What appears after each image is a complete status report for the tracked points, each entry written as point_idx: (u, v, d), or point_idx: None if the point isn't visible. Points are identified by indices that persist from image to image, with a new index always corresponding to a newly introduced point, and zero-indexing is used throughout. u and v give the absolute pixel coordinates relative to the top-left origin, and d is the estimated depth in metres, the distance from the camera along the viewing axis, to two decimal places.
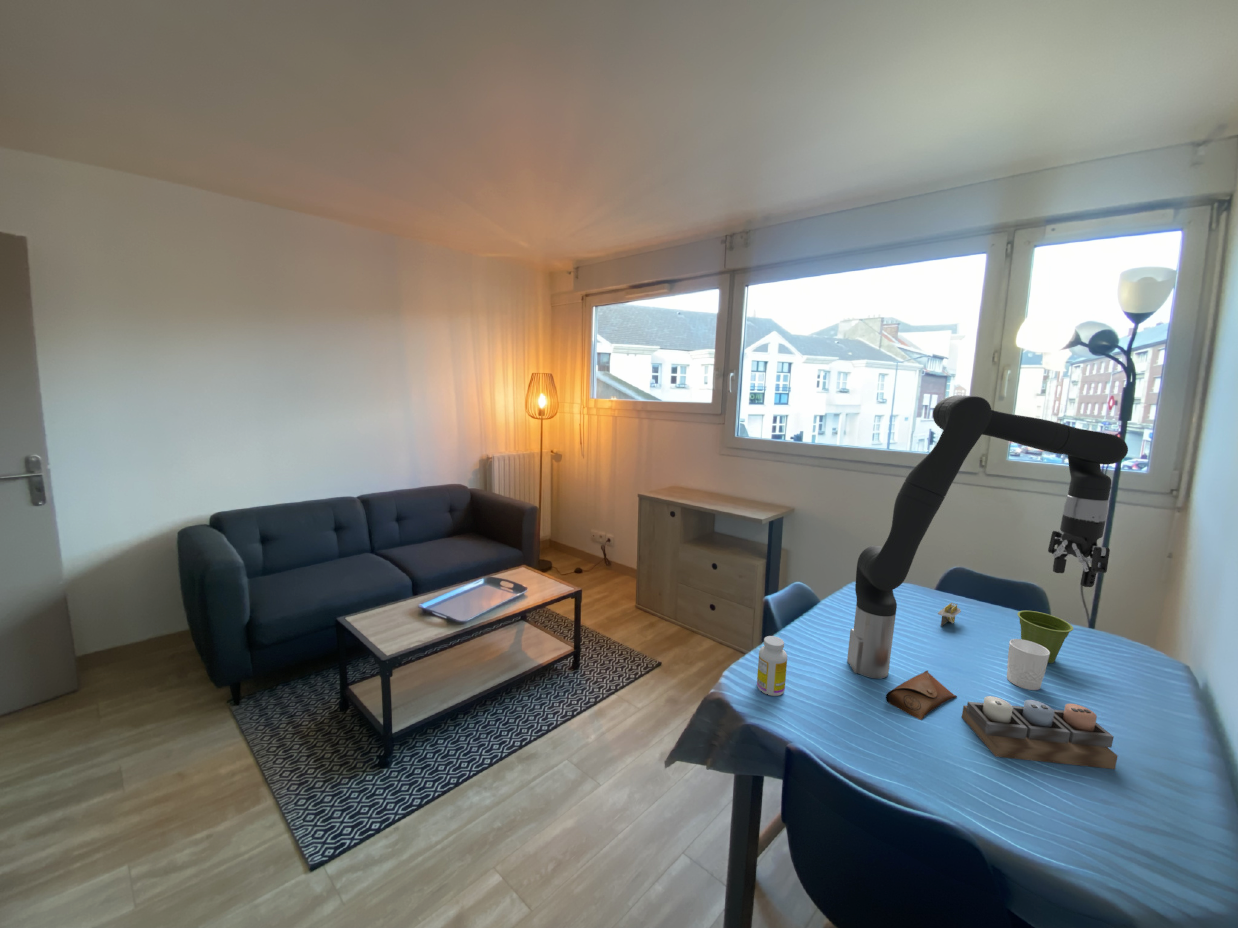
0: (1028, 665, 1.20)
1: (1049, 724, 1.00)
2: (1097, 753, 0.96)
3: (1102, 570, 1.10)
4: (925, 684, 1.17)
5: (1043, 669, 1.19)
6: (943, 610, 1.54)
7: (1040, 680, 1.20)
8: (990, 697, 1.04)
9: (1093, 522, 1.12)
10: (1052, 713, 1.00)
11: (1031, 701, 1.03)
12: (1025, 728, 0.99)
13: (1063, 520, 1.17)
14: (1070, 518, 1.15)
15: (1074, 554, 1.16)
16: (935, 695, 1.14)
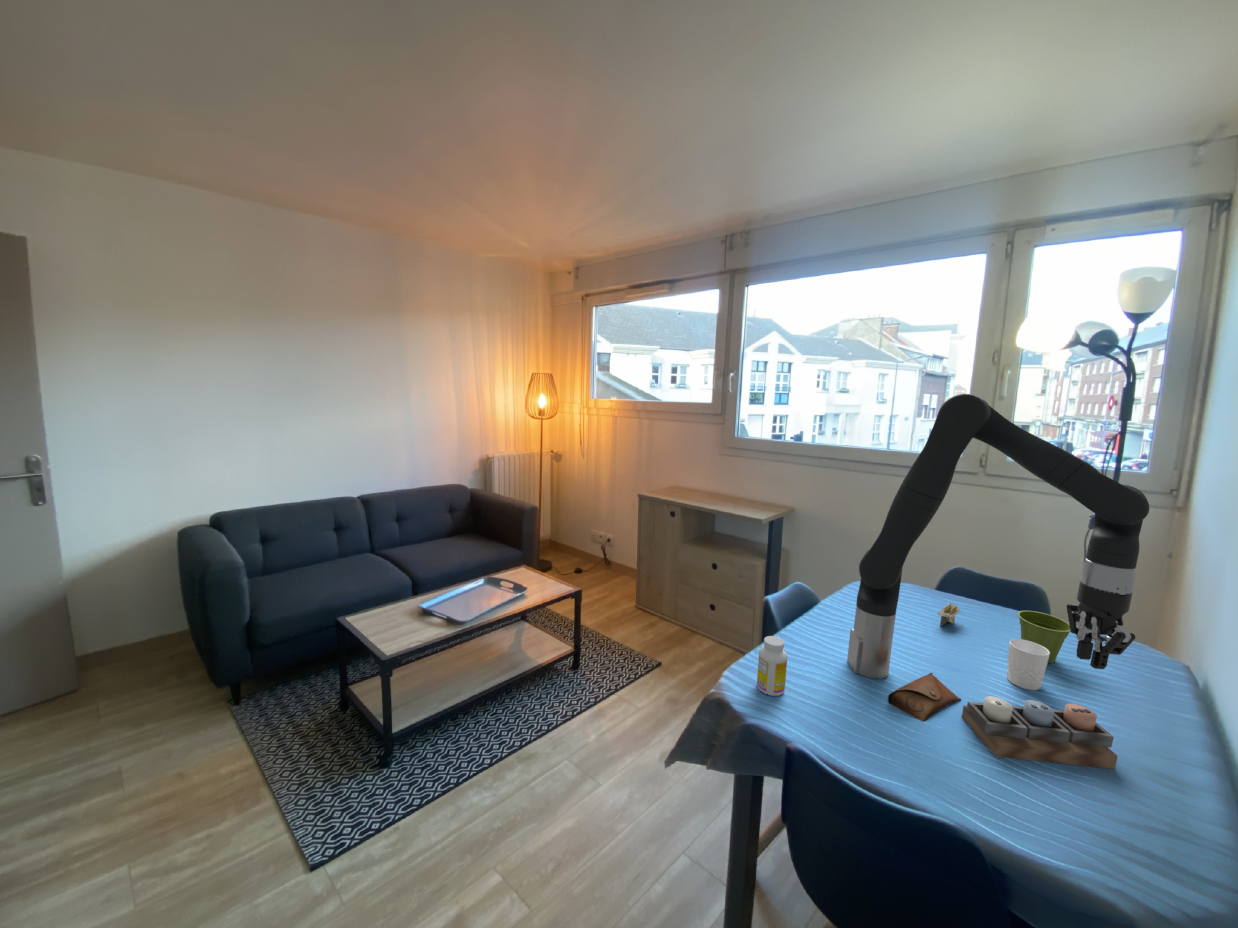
0: (1028, 665, 1.20)
1: (1049, 724, 1.00)
2: (1097, 753, 0.96)
3: (1116, 651, 0.94)
4: (929, 686, 1.16)
5: (1043, 669, 1.19)
6: (942, 610, 1.54)
7: (1040, 680, 1.20)
8: (990, 697, 1.04)
9: (1118, 594, 0.93)
10: (1052, 713, 1.00)
11: (1031, 701, 1.03)
12: (1025, 728, 0.99)
13: (1080, 588, 0.98)
14: (1089, 587, 0.96)
15: None
16: (938, 697, 1.13)
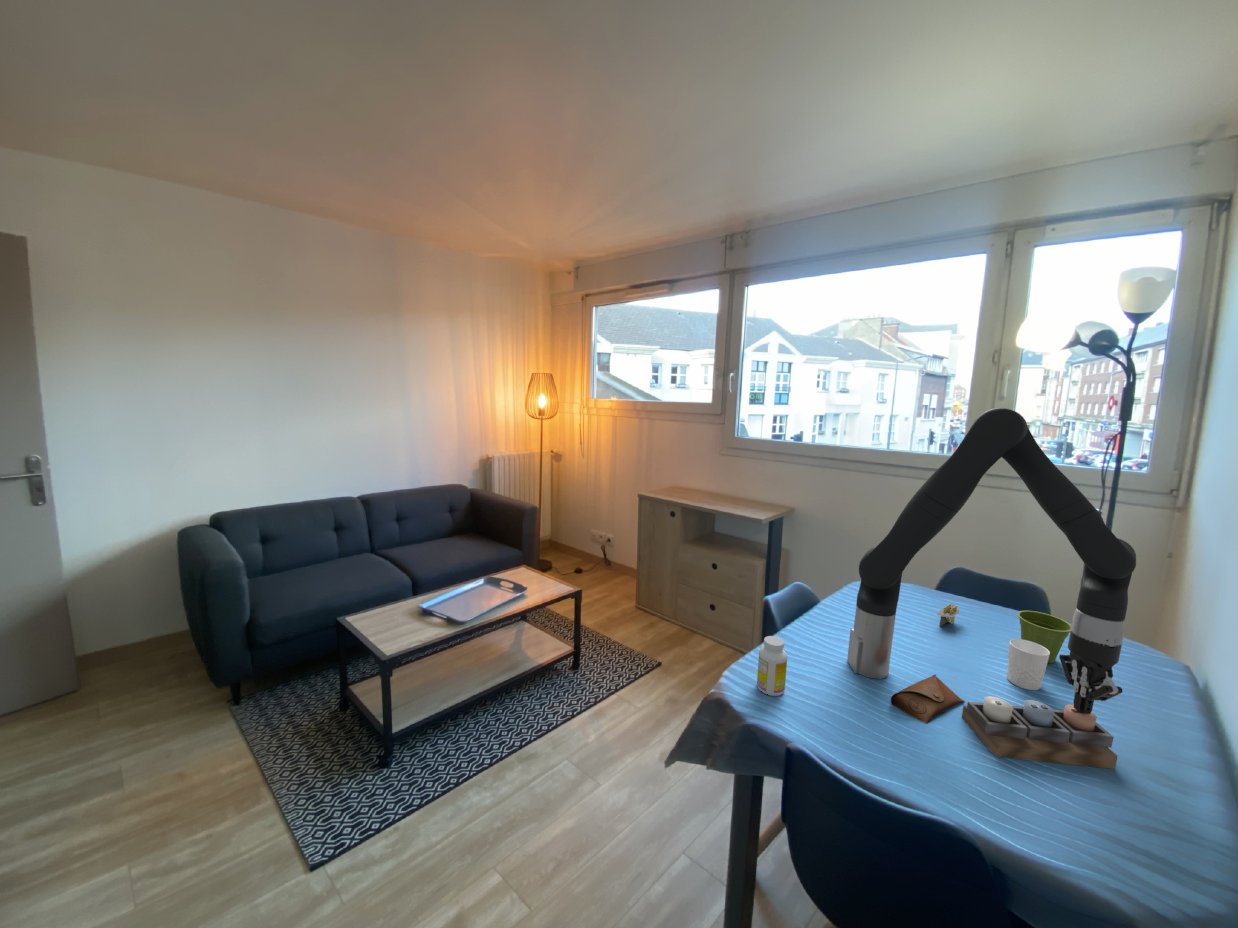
0: (1028, 665, 1.20)
1: (1049, 724, 1.00)
2: (1097, 753, 0.96)
3: (1100, 698, 0.97)
4: (932, 688, 1.15)
5: (1043, 669, 1.19)
6: (942, 610, 1.53)
7: (1040, 680, 1.20)
8: (990, 697, 1.04)
9: (1107, 646, 0.94)
10: (1052, 713, 1.00)
11: (1031, 701, 1.03)
12: (1025, 728, 0.99)
13: (1071, 638, 0.99)
14: (1079, 638, 0.97)
15: None
16: (942, 699, 1.12)
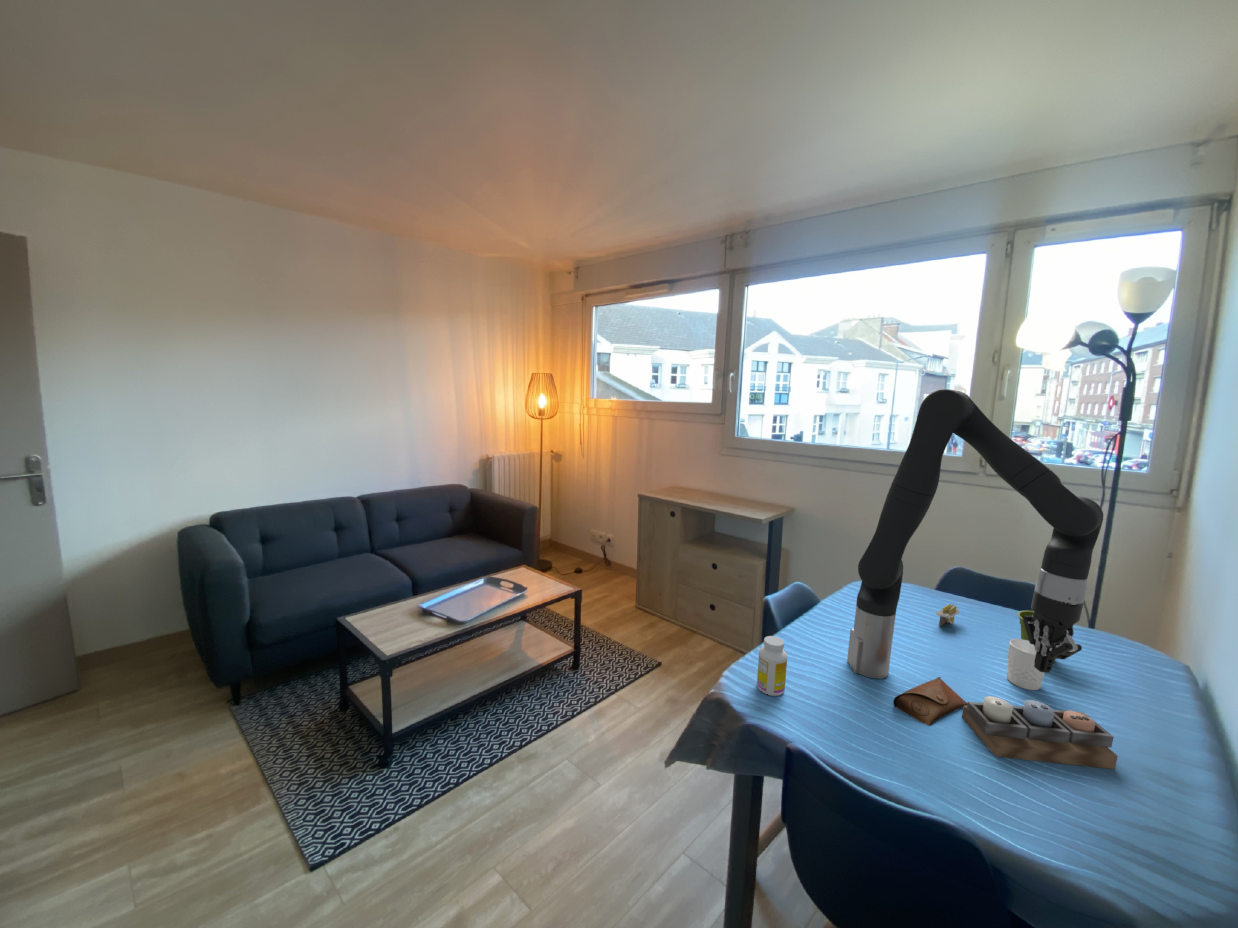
0: (1028, 665, 1.20)
1: (1049, 724, 1.00)
2: (1097, 753, 0.96)
3: (1060, 656, 0.97)
4: (936, 690, 1.14)
5: None
6: (941, 611, 1.53)
7: (1040, 680, 1.20)
8: (990, 697, 1.04)
9: (1069, 604, 0.94)
10: (1052, 713, 1.00)
11: (1031, 701, 1.03)
12: (1025, 728, 0.99)
13: (1035, 597, 0.99)
14: (1043, 597, 0.97)
15: None
16: (945, 702, 1.12)
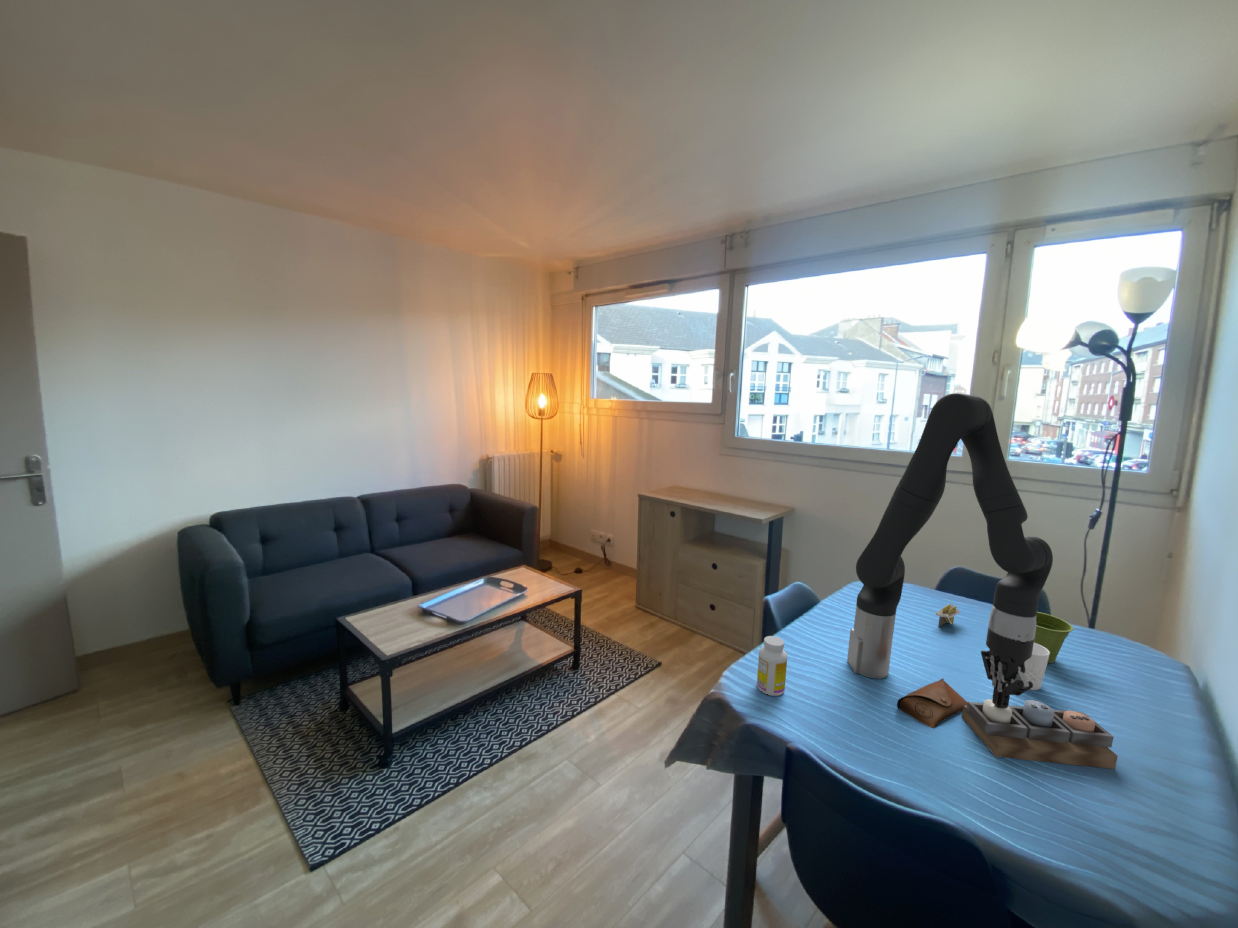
0: (1028, 665, 1.20)
1: (1049, 724, 1.00)
2: (1097, 753, 0.96)
3: (1014, 692, 0.98)
4: (939, 692, 1.14)
5: (1043, 669, 1.19)
6: (941, 611, 1.53)
7: (1040, 680, 1.20)
8: (989, 700, 1.04)
9: (1019, 641, 0.96)
10: (1052, 713, 1.00)
11: (1031, 701, 1.03)
12: (1025, 728, 0.99)
13: (988, 634, 1.01)
14: (995, 634, 0.99)
15: None
16: (949, 704, 1.11)
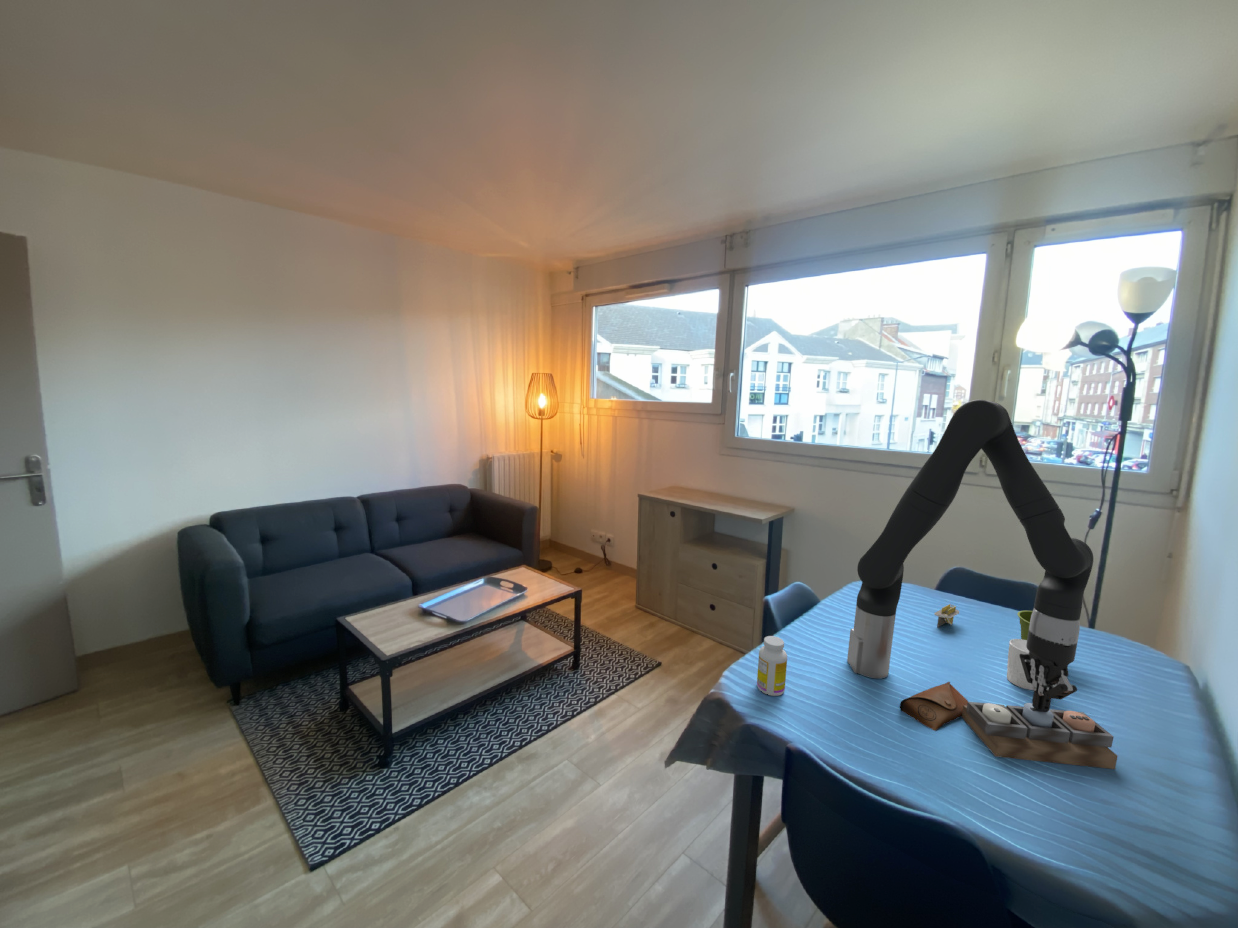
0: None
1: (1049, 727, 1.00)
2: (1097, 753, 0.96)
3: (1057, 696, 0.98)
4: (944, 695, 1.13)
5: None
6: (940, 611, 1.53)
7: None
8: (989, 704, 1.05)
9: (1062, 645, 0.95)
10: (1051, 716, 1.00)
11: (1030, 704, 1.03)
12: (1025, 728, 0.99)
13: (1029, 637, 1.00)
14: (1036, 637, 0.98)
15: None
16: (953, 707, 1.10)
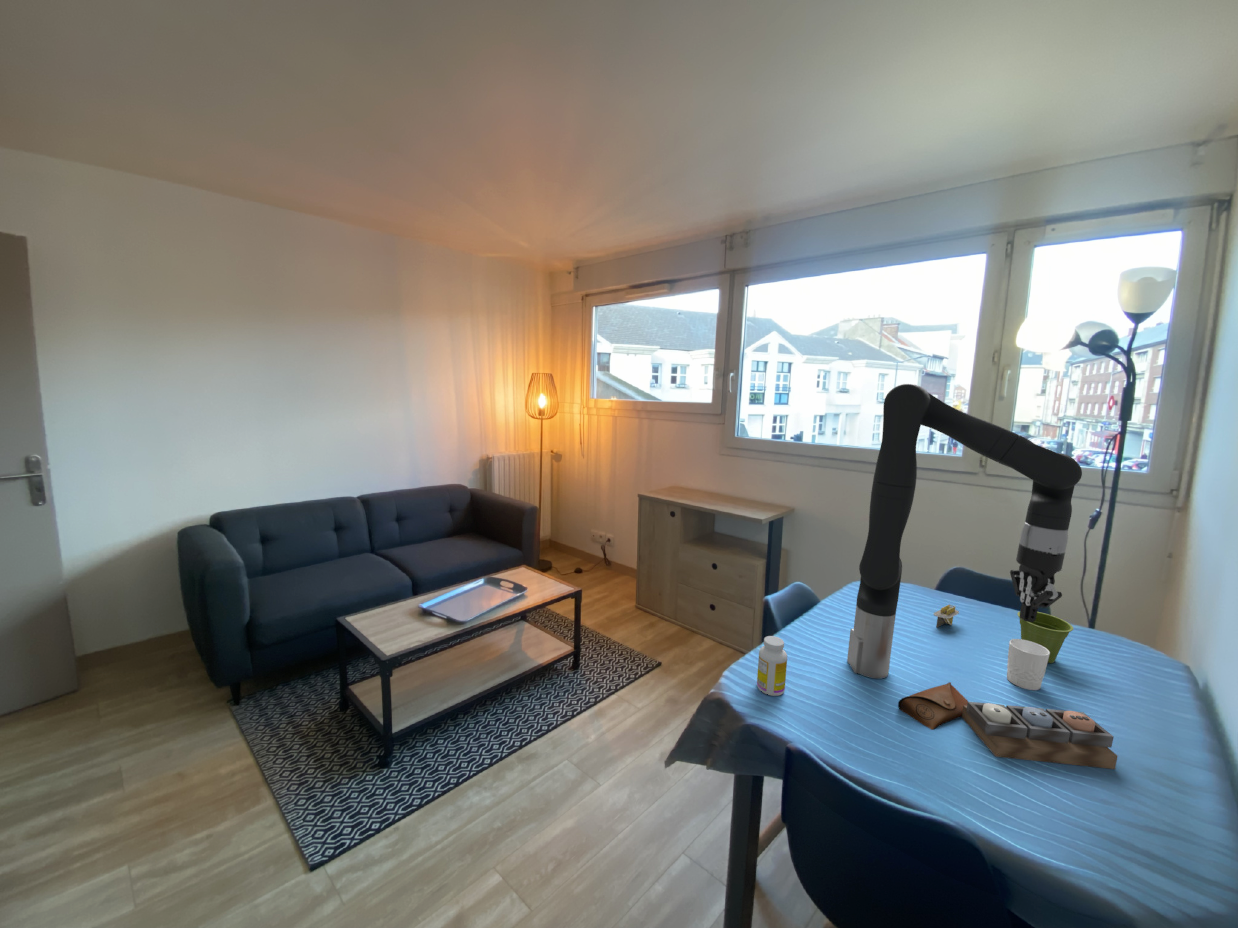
0: (1028, 665, 1.20)
1: None
2: (1097, 753, 0.96)
3: (1043, 604, 1.02)
4: (944, 695, 1.13)
5: (1043, 669, 1.19)
6: (939, 611, 1.53)
7: (1040, 680, 1.20)
8: (989, 704, 1.05)
9: (1050, 554, 1.00)
10: (1051, 720, 1.00)
11: (1030, 708, 1.04)
12: (1025, 728, 0.99)
13: (1019, 550, 1.05)
14: (1026, 548, 1.03)
15: None
16: (953, 707, 1.10)
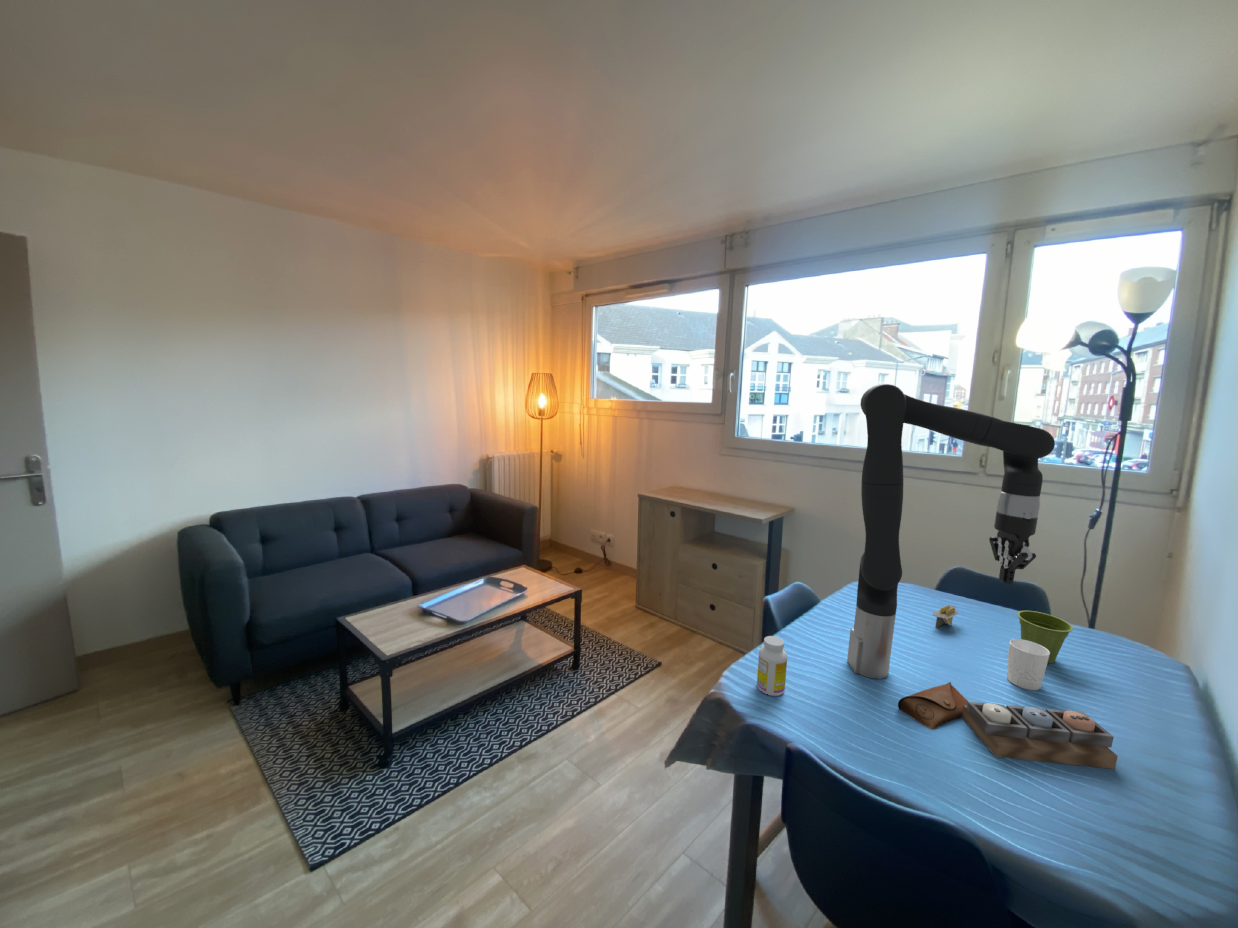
0: (1028, 665, 1.20)
1: None
2: (1097, 753, 0.96)
3: (1019, 566, 1.11)
4: (944, 695, 1.13)
5: (1043, 669, 1.19)
6: (939, 611, 1.53)
7: (1040, 680, 1.20)
8: (989, 704, 1.05)
9: (1024, 519, 1.09)
10: (1051, 720, 1.00)
11: (1030, 708, 1.04)
12: (1025, 728, 0.99)
13: (996, 517, 1.14)
14: (1002, 515, 1.12)
15: None
16: (952, 707, 1.10)
